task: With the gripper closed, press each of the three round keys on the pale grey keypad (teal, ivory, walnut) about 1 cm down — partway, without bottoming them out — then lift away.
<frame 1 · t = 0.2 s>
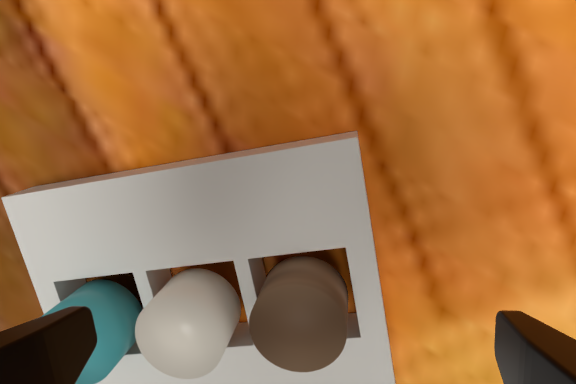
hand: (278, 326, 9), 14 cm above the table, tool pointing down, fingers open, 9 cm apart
key ivory: (190, 321, 22), point 4 cm above the table, slide at 0.0 cm
keypad: (214, 286, 26), on the table
key teal: (91, 330, 23), point 4 cm above the table, slide at 0.0 cm
key walnut: (301, 311, 21), point 4 cm above the table, slide at 0.0 cm
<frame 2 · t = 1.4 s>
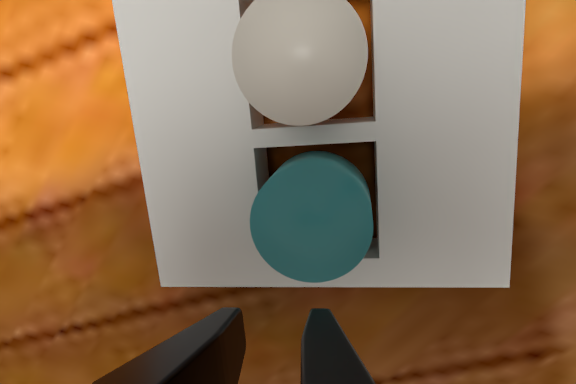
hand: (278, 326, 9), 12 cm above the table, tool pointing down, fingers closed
key ivory: (303, 58, 15), point 4 cm above the table, slide at 0.0 cm
keypad: (313, 63, 19), on the table
key teal: (314, 212, 17), point 4 cm above the table, slide at 0.0 cm
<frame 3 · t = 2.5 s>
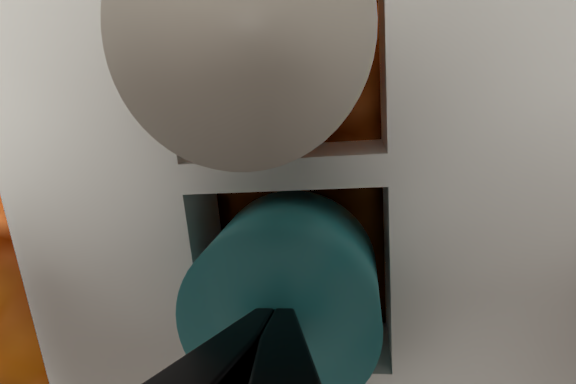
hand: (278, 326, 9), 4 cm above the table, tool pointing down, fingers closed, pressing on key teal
key ivory: (255, 41, 8), point 4 cm above the table, slide at 0.0 cm
keypad: (286, 53, 12), on the table
key teal: (287, 293, 11), point 3 cm above the table, slide at 0.9 cm, touching gripper
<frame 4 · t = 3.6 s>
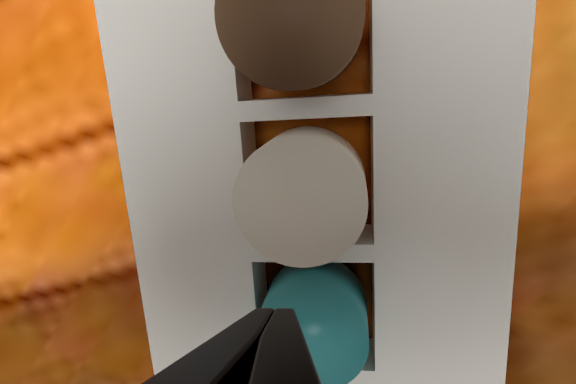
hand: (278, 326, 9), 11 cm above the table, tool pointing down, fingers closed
key ivory: (304, 192, 15), point 4 cm above the table, slide at 0.0 cm
keypad: (313, 171, 19), on the table
key teal: (313, 320, 18), point 3 cm above the table, slide at 1.0 cm
key walnut: (295, 20, 14), point 4 cm above the table, slide at 0.0 cm
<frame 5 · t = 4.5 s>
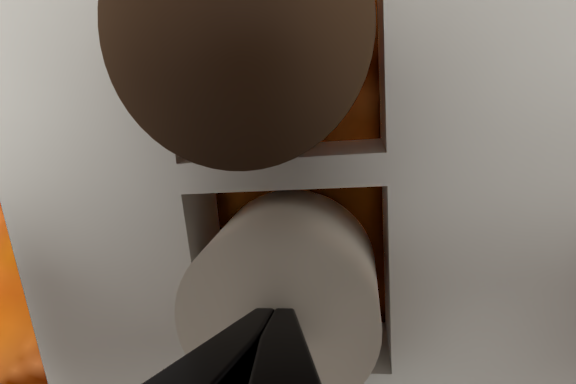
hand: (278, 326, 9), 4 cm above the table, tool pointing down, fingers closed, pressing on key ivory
key ivory: (286, 292, 11), point 3 cm above the table, slide at 1.0 cm, touching gripper
keypad: (300, 249, 13), on the table
key walnut: (253, 40, 8), point 4 cm above the table, slide at 0.0 cm
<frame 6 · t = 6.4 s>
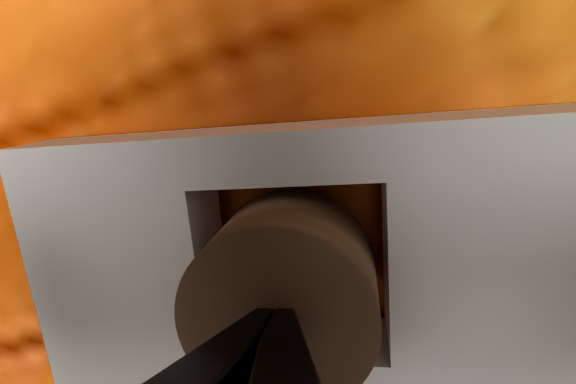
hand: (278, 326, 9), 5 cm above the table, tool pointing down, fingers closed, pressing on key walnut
key walnut: (286, 291, 11), point 3 cm above the table, slide at 0.7 cm, touching gripper
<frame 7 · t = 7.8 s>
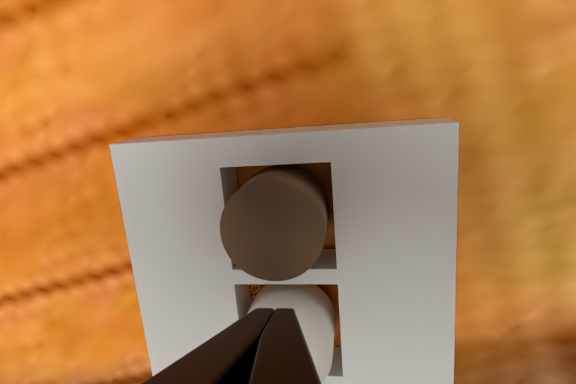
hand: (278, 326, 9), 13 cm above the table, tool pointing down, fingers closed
key ivory: (288, 333, 21), point 3 cm above the table, slide at 1.0 cm
keypad: (295, 305, 23), on the table
key walnut: (277, 220, 19), point 3 cm above the table, slide at 1.0 cm
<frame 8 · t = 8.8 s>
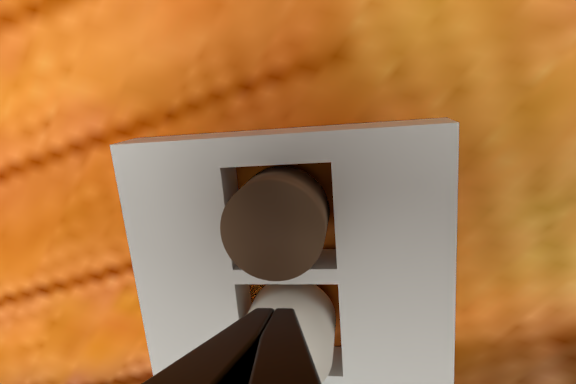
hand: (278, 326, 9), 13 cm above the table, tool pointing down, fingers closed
key ivory: (288, 333, 21), point 3 cm above the table, slide at 1.0 cm
keypad: (296, 305, 23), on the table
key walnut: (278, 220, 19), point 3 cm above the table, slide at 1.0 cm
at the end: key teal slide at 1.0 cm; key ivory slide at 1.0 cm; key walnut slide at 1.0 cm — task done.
